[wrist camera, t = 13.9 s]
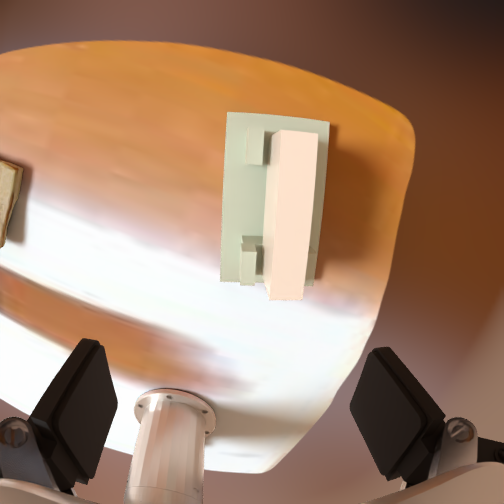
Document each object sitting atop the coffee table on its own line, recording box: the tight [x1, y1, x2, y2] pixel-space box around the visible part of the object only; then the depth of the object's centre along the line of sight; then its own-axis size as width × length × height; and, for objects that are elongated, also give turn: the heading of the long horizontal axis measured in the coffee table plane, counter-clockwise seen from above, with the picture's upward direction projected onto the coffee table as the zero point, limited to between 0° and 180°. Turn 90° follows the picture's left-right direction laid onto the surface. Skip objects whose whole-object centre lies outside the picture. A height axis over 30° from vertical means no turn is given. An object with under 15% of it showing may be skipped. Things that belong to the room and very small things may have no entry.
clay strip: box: [261, 130, 318, 300], centre depth 22 cm, size 12×2×6 cm, turn 177°
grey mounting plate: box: [220, 112, 330, 286], centre depth 26 cm, size 17×10×6 cm, turn 177°
